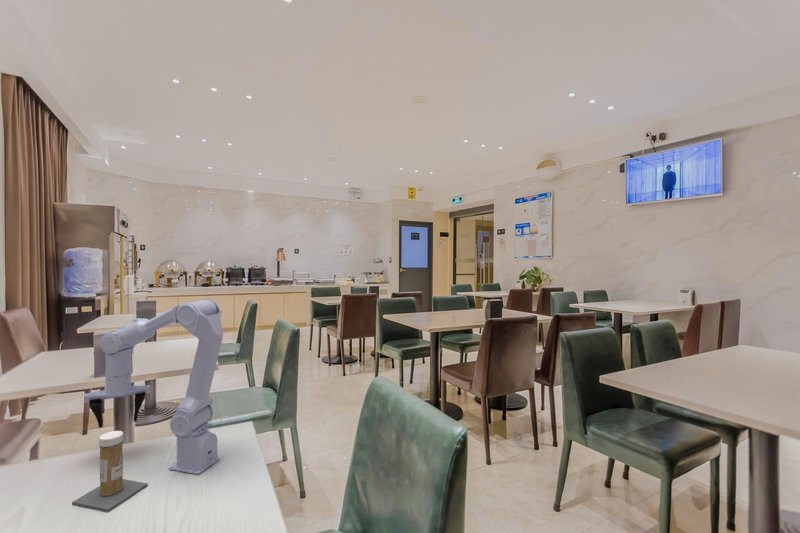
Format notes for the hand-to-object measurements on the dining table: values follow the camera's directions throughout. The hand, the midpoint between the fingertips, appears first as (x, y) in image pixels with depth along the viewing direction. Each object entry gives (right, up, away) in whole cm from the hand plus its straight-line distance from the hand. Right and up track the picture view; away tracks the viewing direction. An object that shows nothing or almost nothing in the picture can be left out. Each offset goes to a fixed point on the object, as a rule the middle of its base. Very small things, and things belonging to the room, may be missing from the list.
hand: (118, 423), depth 106 cm
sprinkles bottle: (+10, -10, -16) cm, 21 cm away
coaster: (+10, -10, -16) cm, 22 cm away
